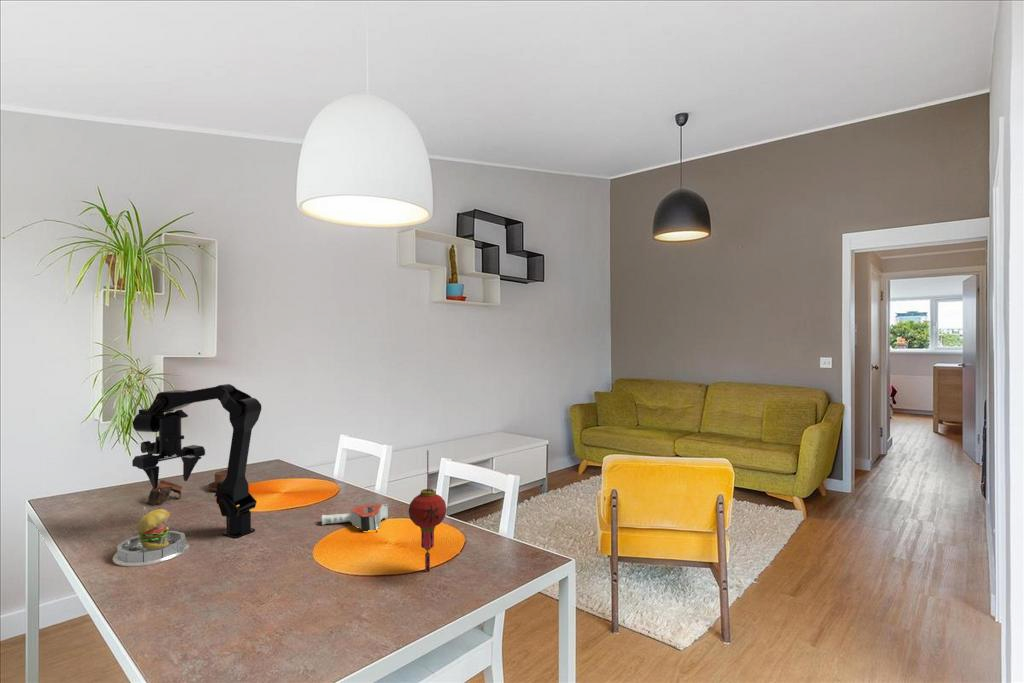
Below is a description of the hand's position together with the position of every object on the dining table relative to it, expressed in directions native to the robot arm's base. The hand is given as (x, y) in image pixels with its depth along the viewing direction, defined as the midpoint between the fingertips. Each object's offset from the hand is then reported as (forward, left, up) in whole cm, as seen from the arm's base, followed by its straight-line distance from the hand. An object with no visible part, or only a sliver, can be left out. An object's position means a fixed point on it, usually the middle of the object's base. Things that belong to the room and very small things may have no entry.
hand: (170, 484), depth 164 cm
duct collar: (-14, +14, -13) cm, 24 cm away
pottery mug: (+27, -15, -13) cm, 33 cm away
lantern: (-86, -9, -13) cm, 87 cm away
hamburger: (-14, +14, -13) cm, 23 cm away
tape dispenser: (-48, -27, -14) cm, 57 cm away
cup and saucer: (+22, -35, -13) cm, 43 cm away
